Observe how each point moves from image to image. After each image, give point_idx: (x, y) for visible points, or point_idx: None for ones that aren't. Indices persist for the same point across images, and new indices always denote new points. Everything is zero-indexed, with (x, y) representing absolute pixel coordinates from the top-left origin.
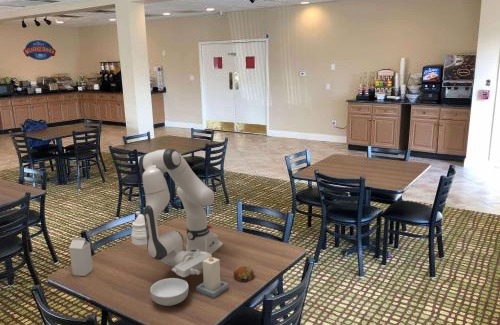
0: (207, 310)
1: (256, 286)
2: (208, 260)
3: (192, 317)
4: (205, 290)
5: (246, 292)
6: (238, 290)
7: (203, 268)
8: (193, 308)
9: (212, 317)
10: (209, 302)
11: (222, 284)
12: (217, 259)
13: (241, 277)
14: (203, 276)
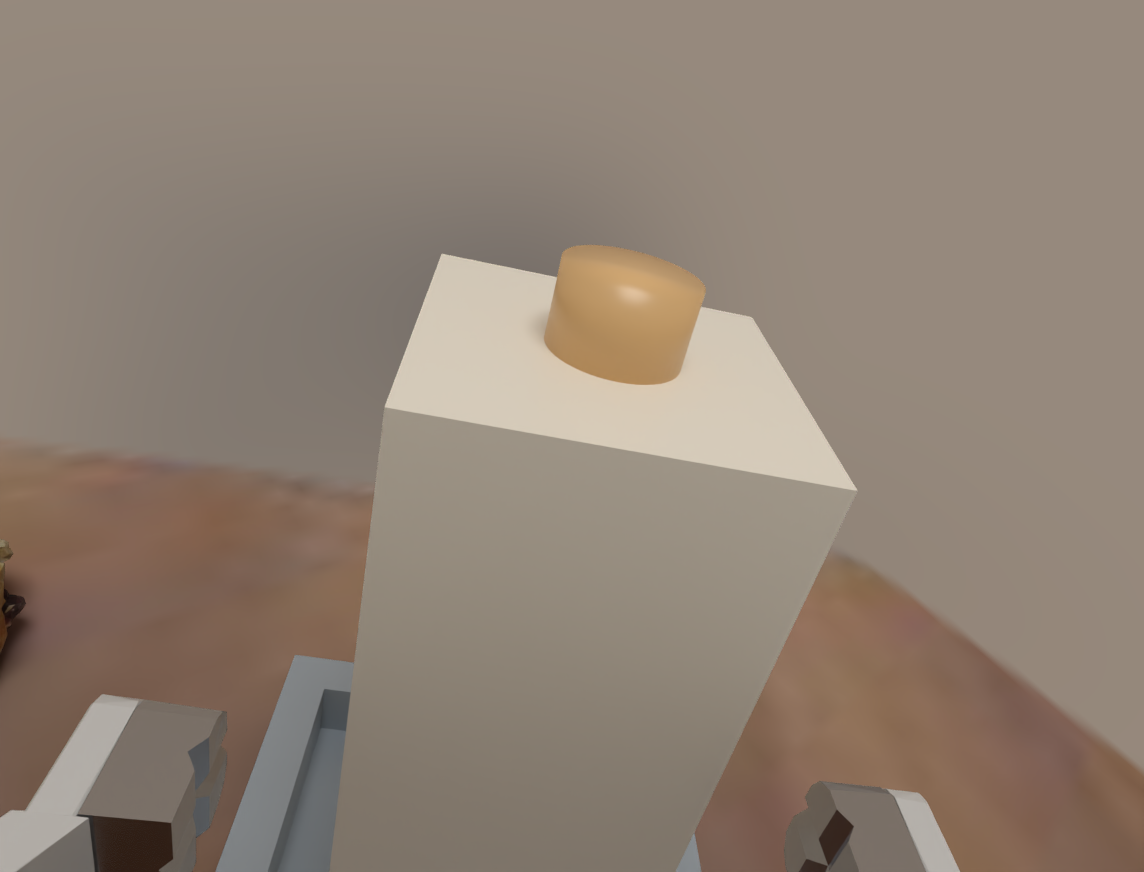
0: (867, 696)
1: (120, 478)
2: (670, 389)
3: (1078, 761)
4: (698, 869)
5: (304, 518)
6: (292, 594)
7: (751, 680)
8: (1009, 865)
9: (883, 607)
10: (752, 761)
11: (304, 766)
12: (460, 277)
13: (1, 573)
14: (673, 868)
